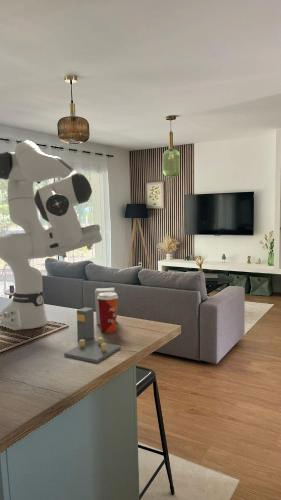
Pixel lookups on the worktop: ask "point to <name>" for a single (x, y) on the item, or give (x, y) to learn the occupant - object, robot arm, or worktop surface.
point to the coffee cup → (108, 311)
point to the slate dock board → (92, 350)
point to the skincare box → (97, 292)
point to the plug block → (85, 323)
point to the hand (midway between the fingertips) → (77, 252)
